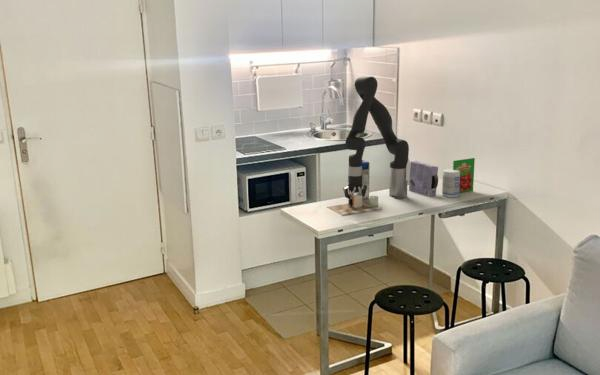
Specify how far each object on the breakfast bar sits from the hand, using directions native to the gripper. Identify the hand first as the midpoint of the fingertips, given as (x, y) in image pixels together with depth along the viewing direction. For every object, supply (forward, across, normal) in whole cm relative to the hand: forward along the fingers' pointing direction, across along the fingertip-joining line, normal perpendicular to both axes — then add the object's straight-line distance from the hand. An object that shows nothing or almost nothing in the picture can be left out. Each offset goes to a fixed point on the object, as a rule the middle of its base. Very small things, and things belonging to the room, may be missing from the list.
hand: (355, 204), depth 350 cm
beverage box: (+2, -10, -13) cm, 17 cm away
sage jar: (0, -7, +8) cm, 11 cm away
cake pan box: (+2, -49, -6) cm, 49 cm away
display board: (+2, +3, +4) cm, 5 cm away
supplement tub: (+2, -60, +6) cm, 60 cm away
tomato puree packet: (+2, -69, +5) cm, 69 cm away
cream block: (+1, 0, 0) cm, 1 cm away
